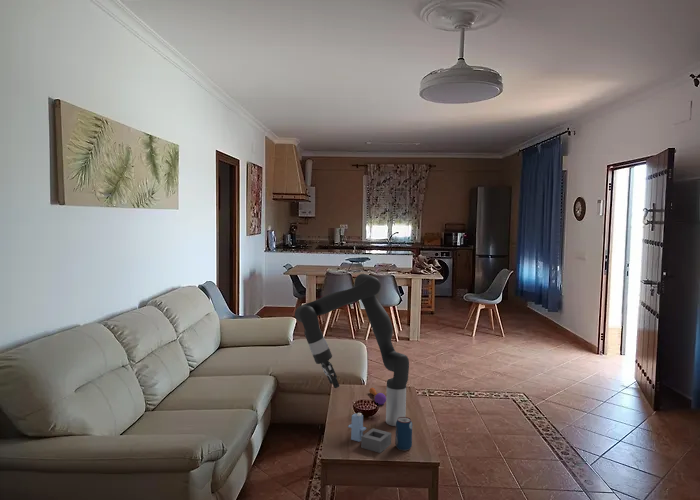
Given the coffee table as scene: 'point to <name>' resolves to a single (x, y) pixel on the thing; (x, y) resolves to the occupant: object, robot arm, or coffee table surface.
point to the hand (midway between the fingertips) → (334, 385)
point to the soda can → (403, 433)
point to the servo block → (357, 427)
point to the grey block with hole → (376, 440)
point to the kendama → (378, 396)
